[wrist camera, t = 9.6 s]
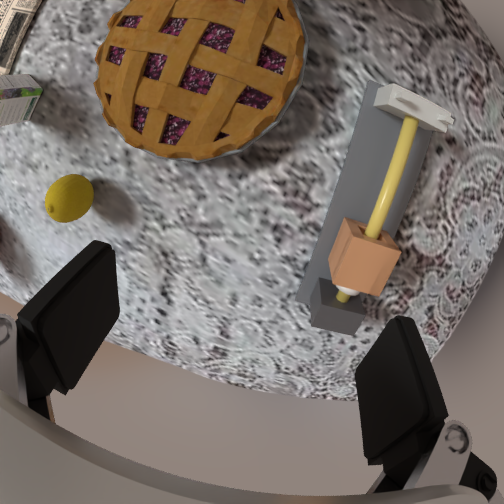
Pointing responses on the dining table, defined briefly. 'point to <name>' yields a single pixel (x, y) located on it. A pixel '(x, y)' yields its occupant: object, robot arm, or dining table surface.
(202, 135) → the pie
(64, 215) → the lemon
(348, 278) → the sleeve
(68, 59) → the dining table surface
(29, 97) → the syrup box
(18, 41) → the newspaper
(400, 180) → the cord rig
